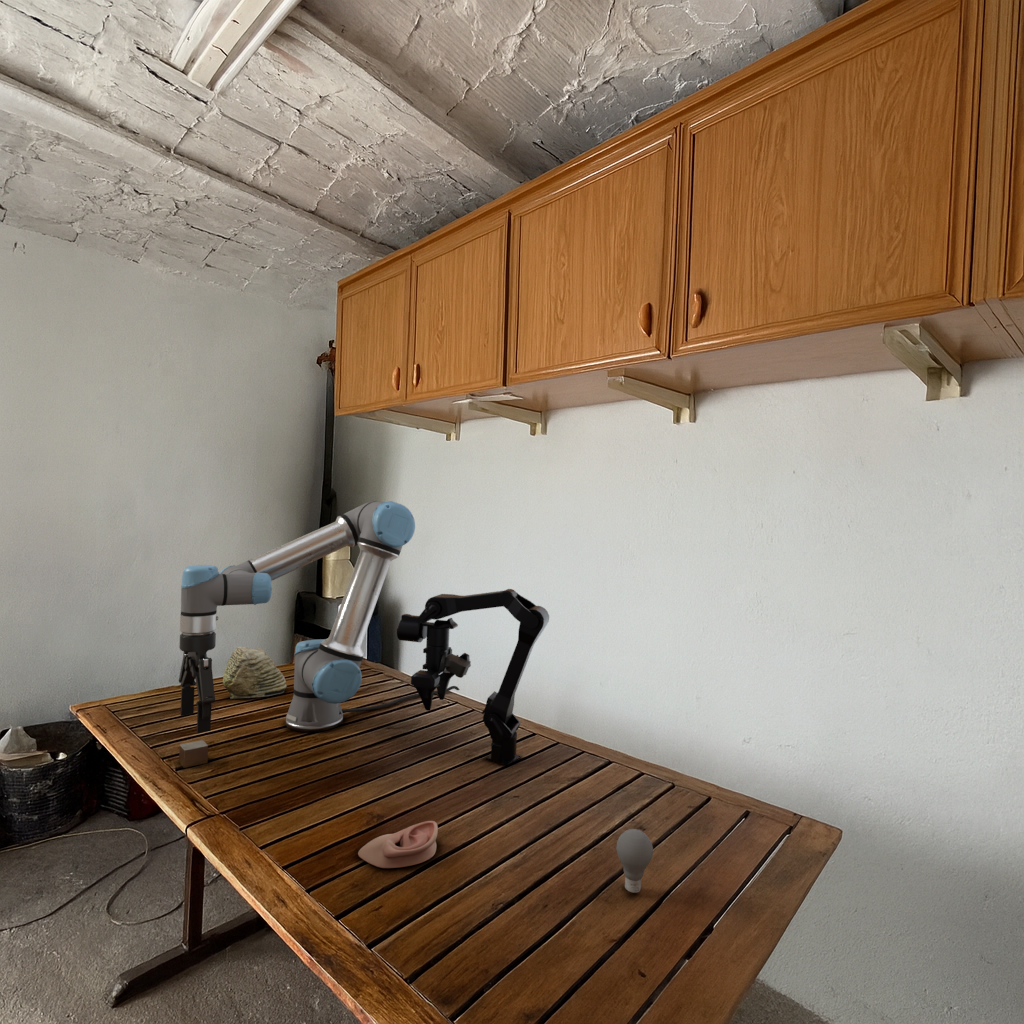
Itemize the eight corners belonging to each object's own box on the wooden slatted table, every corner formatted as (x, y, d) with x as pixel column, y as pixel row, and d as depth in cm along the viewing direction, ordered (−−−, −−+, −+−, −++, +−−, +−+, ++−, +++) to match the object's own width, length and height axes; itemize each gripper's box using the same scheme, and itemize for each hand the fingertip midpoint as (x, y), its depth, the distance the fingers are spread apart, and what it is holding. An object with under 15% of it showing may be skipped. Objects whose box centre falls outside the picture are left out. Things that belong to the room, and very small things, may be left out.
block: (183, 768, 144) (184, 750, 144) (178, 762, 148) (179, 744, 147) (207, 762, 148) (208, 745, 148) (202, 756, 151) (203, 739, 151)
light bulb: (610, 879, 108) (613, 822, 108) (644, 879, 109) (647, 822, 109) (619, 902, 102) (622, 840, 102) (655, 901, 103) (658, 840, 103)
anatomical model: (350, 840, 110) (378, 809, 121) (349, 863, 110) (377, 829, 121) (423, 852, 107) (444, 819, 118) (422, 875, 107) (443, 840, 118)
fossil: (218, 695, 195) (220, 647, 195) (278, 685, 208) (279, 640, 207) (228, 703, 189) (230, 653, 188) (289, 692, 201) (290, 645, 201)
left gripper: (232, 640, 140) (229, 735, 141) (199, 621, 159) (197, 705, 159) (195, 644, 135) (192, 743, 136) (166, 624, 154) (163, 710, 154)
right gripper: (454, 655, 151) (451, 720, 151) (478, 640, 169) (476, 698, 169) (411, 650, 154) (408, 714, 154) (439, 635, 172) (437, 693, 172)
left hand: (195, 723), depth 148 cm, fingers open, 13 cm apart
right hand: (435, 704), depth 162 cm, fingers open, 9 cm apart
